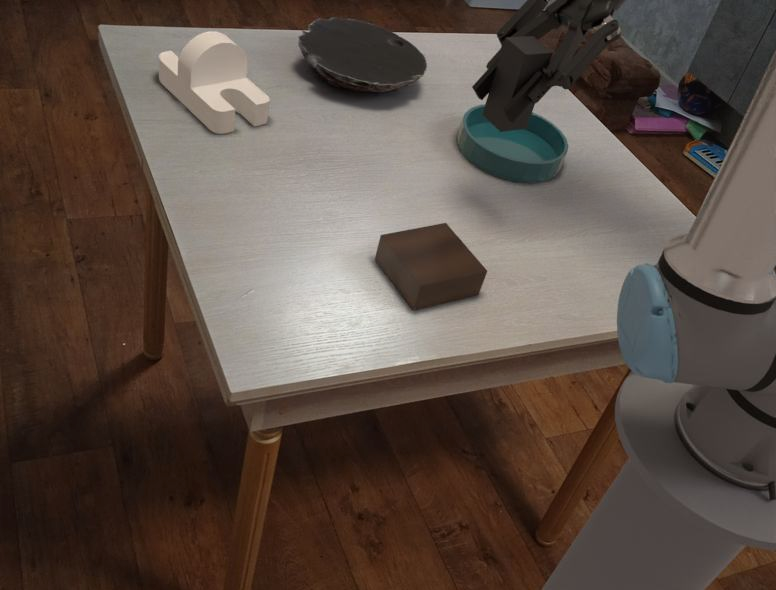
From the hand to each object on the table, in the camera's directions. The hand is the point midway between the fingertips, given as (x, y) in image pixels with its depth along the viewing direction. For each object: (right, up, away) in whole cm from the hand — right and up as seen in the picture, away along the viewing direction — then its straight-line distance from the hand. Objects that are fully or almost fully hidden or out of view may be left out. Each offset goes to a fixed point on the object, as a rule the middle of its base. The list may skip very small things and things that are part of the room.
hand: (492, 104), depth 108 cm
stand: (-9, -23, -2) cm, 24 cm away
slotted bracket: (-41, +6, +18) cm, 45 cm away
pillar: (+2, -1, +4) cm, 5 cm away
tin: (+6, 0, +25) cm, 25 cm away
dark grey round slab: (-19, +14, +32) cm, 40 cm away
